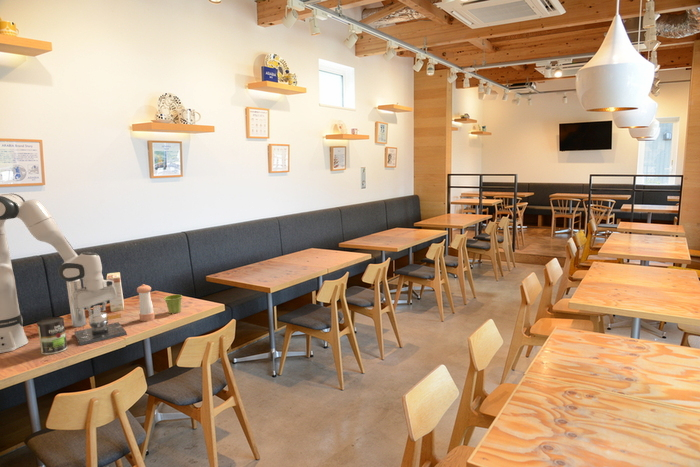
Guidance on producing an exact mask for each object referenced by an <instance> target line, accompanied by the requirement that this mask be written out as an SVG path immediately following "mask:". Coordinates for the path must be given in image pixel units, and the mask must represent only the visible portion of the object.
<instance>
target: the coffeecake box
mask: <svg viewBox="0 0 700 467" xmlns="http://www.w3.org/2000/svg"><path fill="white" fill-rule="evenodd" d="M121 279H122V278H121V272H119V271H118V272H110V273H107V275H106V280H111V281H114V286H115V288H116V293H117V296H116V298H115V299H112V300H109V307H110V312H112V313H113V312H118V311H124V310H125V308H124V307H125V302H124V301H125V300H124V295H123V287H122V280H121Z"/></svg>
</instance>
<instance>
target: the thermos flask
mask: <svg viewBox="0 0 700 467" xmlns="http://www.w3.org/2000/svg"><path fill="white" fill-rule="evenodd" d="M81 280H82V279H78V280H75V281H70V282H68V281H66V288H67V295H68V302H69V303H68V304H69V310H70V316H71V324H72V327H73V328H79V327H80V328H81V327H84V326H86V325H87V319H86V318H87V317H86V311H85V309H86V308H82V309H76V308H75V307H74V297H73V293H74V292H75V291H76V290H77V289H81V288H83V287H82V281H81Z"/></svg>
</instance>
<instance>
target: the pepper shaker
mask: <svg viewBox="0 0 700 467" xmlns="http://www.w3.org/2000/svg"><path fill="white" fill-rule="evenodd" d="M151 291H152V287H151V286H150V285H147V284H144V283H143V284H141V285H140V286H138V287H137V288H136V293H138V297H139V298H138V299H139V306H138V309H139V314H138V315H139V321H140V322H150V321H152V320H153V321H154V320H155V318H156V317H155V311H154V306H153V302H152V298H151Z"/></svg>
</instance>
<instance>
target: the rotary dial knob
mask: <svg viewBox="0 0 700 467" xmlns="http://www.w3.org/2000/svg"><path fill="white" fill-rule="evenodd" d="M100 307H101V304H96V305H92V308H93V309H92V310H93V311H94V314H92V315H89V314H88V322H89V328H91V327H100V326H103V325H106V324H107V325H108V324H109V321H110V320H114V319H121V318H122V314H121V313H117V314H116V313H115V314H111V315H108V312H104V311H101V308H100Z"/></svg>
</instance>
